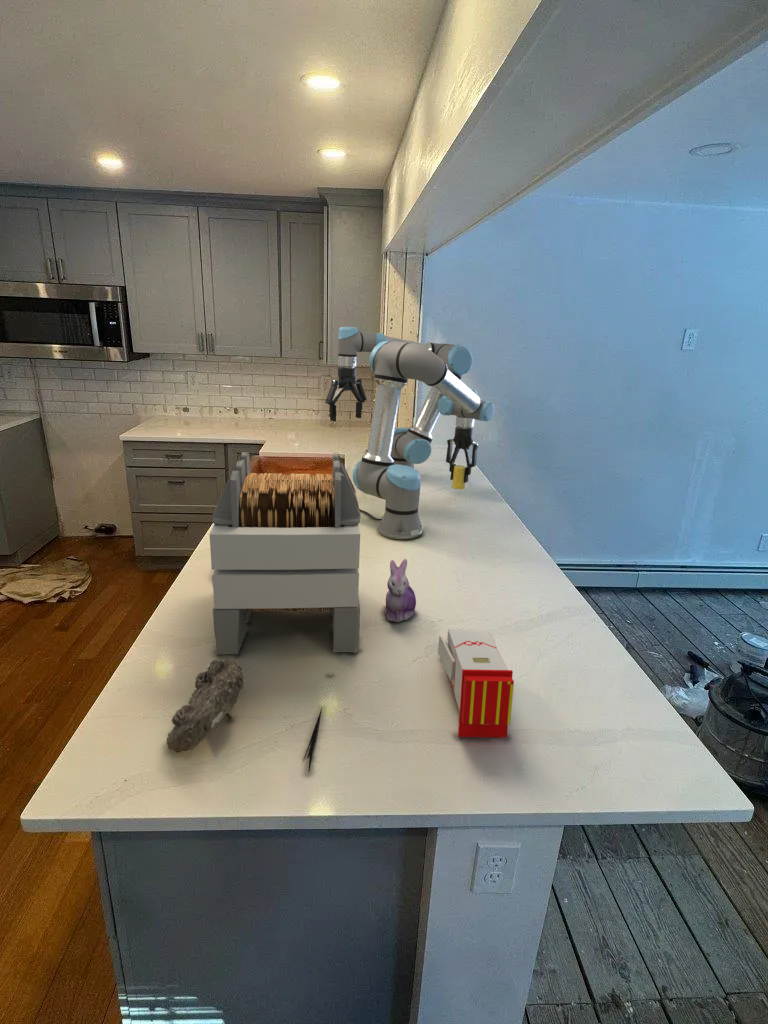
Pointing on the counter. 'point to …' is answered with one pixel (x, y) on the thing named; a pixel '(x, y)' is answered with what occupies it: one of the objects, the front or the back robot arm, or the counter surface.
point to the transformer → (285, 551)
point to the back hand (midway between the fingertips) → (346, 419)
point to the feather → (313, 740)
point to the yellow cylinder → (458, 477)
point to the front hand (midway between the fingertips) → (459, 480)
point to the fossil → (206, 705)
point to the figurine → (399, 594)
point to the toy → (478, 682)
